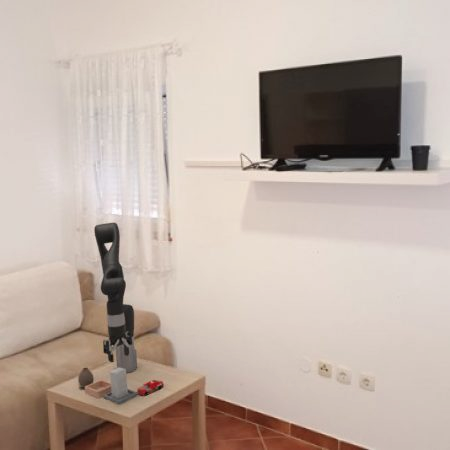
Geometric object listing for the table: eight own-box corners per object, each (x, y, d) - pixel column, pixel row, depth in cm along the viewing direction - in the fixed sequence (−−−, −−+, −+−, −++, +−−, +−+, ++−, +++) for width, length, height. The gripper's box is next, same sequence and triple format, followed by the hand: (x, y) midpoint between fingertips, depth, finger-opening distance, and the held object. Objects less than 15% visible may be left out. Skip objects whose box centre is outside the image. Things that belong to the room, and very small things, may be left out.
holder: (101, 385, 263) (101, 379, 262) (114, 390, 257) (114, 384, 256) (85, 392, 256) (84, 386, 255) (98, 398, 250) (97, 391, 249)
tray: (122, 389, 257) (121, 386, 257) (137, 395, 251) (137, 392, 250) (103, 398, 249) (103, 395, 249) (119, 404, 243) (118, 401, 243)
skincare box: (121, 392, 253) (119, 366, 252) (128, 394, 251) (126, 368, 249) (111, 397, 248) (109, 371, 247) (118, 399, 246) (116, 373, 244)
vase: (90, 390, 258) (88, 371, 257) (76, 389, 260) (74, 371, 259) (96, 383, 265) (95, 365, 264) (82, 383, 267) (81, 365, 265)
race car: (142, 397, 249) (141, 389, 249) (134, 394, 253) (134, 385, 252) (165, 387, 258) (165, 379, 258) (158, 384, 262) (157, 376, 262)
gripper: (123, 317, 253) (125, 351, 255) (97, 326, 242) (100, 362, 245) (134, 320, 248) (137, 355, 251) (108, 329, 237) (111, 366, 240)
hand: (119, 358), depth 248 cm, fingers open, 8 cm apart
